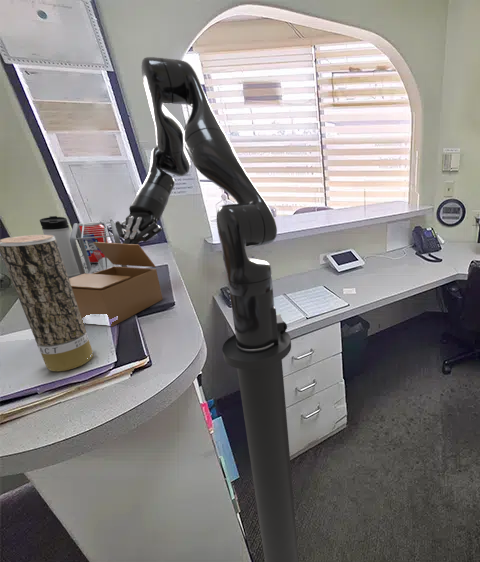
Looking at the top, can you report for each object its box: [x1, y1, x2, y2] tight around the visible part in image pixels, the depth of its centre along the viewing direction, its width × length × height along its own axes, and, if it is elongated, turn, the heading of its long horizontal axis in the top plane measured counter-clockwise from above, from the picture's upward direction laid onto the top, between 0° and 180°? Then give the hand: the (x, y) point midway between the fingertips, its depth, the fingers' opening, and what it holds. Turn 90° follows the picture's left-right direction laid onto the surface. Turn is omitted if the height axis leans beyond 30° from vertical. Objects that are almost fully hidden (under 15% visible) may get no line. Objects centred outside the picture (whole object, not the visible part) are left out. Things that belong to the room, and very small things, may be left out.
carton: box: [69, 265, 164, 328], centre depth 81 cm, size 17×13×10 cm
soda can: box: [79, 221, 110, 264], centre depth 119 cm, size 8×8×15 cm
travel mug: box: [39, 215, 80, 278], centre depth 102 cm, size 6×7×20 cm
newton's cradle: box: [70, 220, 128, 275], centre depth 99 cm, size 30×10×18 cm, turn 41°
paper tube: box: [0, 234, 94, 372], centre depth 57 cm, size 7×7×25 cm
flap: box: [93, 242, 156, 268], centre depth 84 cm, size 8×13×1 cm
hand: (125, 252), depth 84 cm, fingers closed
